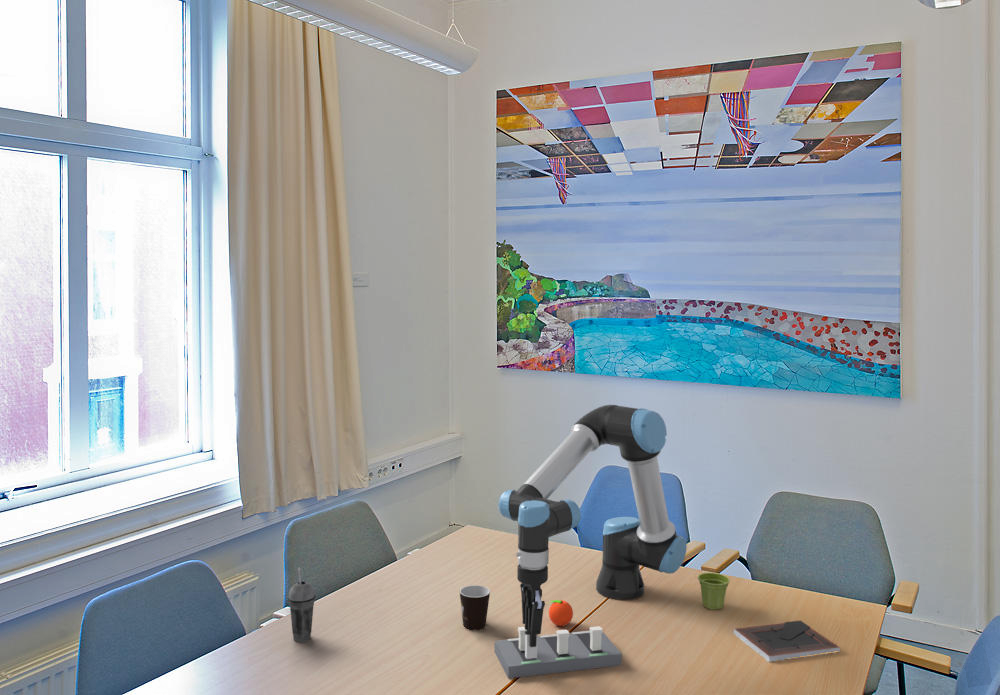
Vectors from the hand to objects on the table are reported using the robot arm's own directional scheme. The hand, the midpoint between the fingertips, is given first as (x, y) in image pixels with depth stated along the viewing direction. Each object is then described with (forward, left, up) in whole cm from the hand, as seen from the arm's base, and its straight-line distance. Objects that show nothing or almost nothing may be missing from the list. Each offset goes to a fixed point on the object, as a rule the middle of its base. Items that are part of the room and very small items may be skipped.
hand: (530, 656), depth 193 cm
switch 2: (-18, -2, -1) cm, 18 cm away
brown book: (-73, 0, -5) cm, 73 cm away
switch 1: (0, -6, -1) cm, 6 cm away
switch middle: (-9, -2, -1) cm, 9 cm away
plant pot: (-66, -27, -5) cm, 71 cm away
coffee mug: (+7, -31, -5) cm, 32 cm away
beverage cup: (+55, -32, -5) cm, 64 cm away
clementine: (-16, -25, -5) cm, 30 cm away
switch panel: (-9, -6, -4) cm, 11 cm away
